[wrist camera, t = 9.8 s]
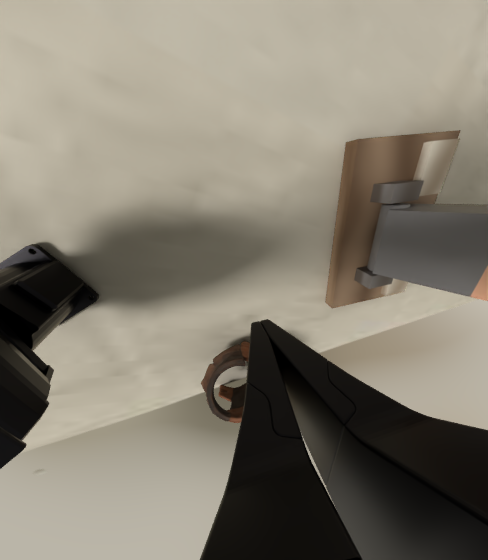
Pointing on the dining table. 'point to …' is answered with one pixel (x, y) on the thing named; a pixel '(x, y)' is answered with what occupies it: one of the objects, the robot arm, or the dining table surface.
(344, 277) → the brown rectangular slab
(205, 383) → the brown curved piece
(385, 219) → the grey block
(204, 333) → the dining table surface
